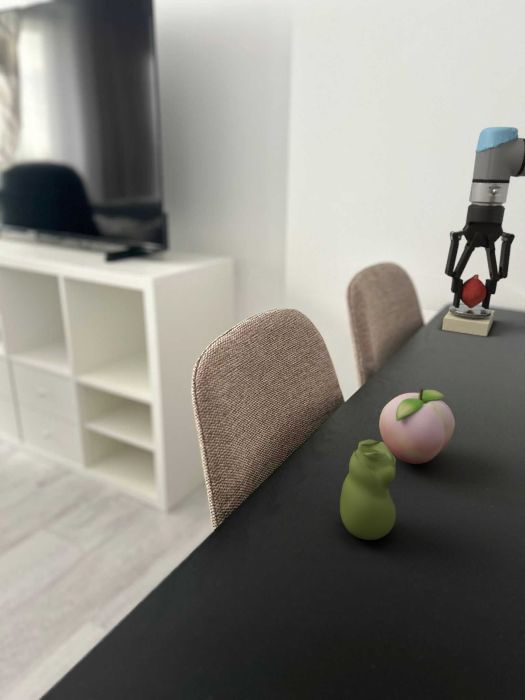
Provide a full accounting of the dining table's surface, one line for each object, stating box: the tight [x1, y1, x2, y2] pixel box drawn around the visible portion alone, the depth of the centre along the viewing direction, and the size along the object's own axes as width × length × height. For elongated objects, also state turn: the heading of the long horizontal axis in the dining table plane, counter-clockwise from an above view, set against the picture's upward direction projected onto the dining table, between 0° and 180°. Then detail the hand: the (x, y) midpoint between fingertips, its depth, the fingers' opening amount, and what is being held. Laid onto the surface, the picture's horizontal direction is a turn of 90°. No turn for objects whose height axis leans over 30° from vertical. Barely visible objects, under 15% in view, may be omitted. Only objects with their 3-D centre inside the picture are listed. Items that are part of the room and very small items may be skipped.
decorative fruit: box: [378, 388, 456, 465], centre depth 62 cm, size 9×8×10 cm
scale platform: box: [448, 303, 492, 318], centre depth 120 cm, size 9×9×1 cm
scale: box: [441, 303, 496, 337], centre depth 122 cm, size 14×10×4 cm
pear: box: [339, 438, 397, 541], centre depth 49 cm, size 6×5×10 cm
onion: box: [460, 274, 486, 308], centre depth 118 cm, size 6×6×8 cm
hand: (470, 307), depth 119 cm, fingers closed on onion, 6 cm apart
